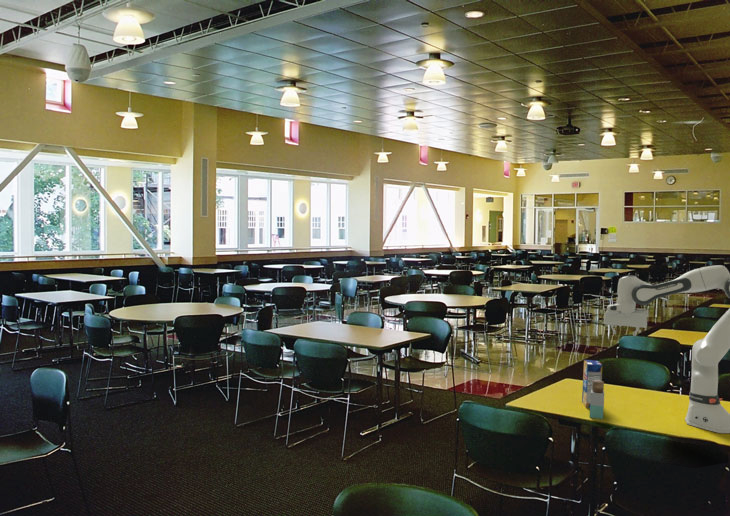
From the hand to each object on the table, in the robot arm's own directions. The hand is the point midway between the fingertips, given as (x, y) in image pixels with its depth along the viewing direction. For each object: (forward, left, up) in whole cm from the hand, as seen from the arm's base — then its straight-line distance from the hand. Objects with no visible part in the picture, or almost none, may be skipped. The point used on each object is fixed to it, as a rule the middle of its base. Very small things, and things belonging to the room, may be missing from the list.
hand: (624, 334), depth 313 cm
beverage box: (+8, +12, -37) cm, 40 cm away
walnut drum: (-8, +24, -25) cm, 36 cm away
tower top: (-8, +24, -31) cm, 40 cm away
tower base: (-8, +24, -37) cm, 45 cm away
